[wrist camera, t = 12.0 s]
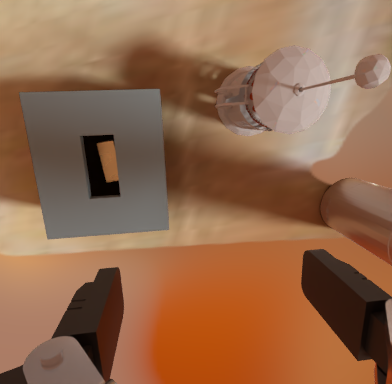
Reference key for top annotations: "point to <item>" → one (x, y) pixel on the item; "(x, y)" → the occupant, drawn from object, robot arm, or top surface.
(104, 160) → the wooden block
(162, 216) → the box
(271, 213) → the top surface
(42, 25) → the top surface
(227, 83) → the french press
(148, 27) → the top surface
